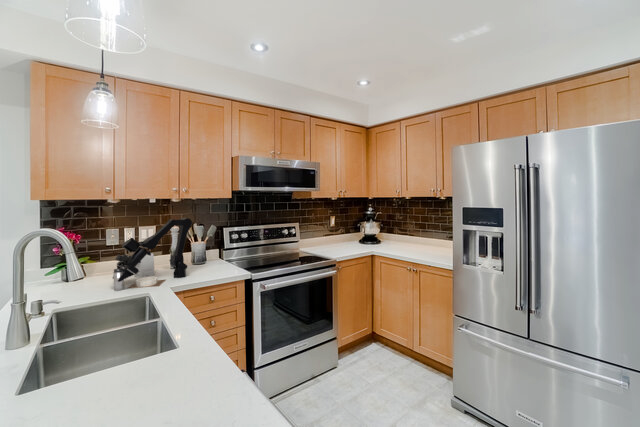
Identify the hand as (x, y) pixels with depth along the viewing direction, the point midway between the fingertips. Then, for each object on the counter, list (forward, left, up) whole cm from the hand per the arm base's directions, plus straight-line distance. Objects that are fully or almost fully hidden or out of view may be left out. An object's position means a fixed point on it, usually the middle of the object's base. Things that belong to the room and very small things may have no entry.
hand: (115, 280), depth 162 cm
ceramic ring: (-12, -10, -6) cm, 17 cm away
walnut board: (-13, -10, -7) cm, 17 cm away
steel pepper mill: (-1, -1, -7) cm, 7 cm away
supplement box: (-2, -36, -7) cm, 37 cm away
